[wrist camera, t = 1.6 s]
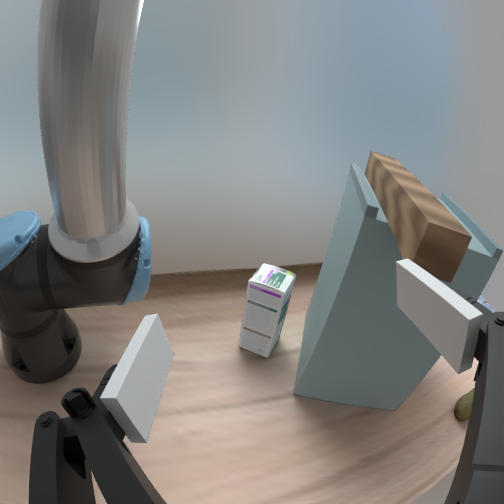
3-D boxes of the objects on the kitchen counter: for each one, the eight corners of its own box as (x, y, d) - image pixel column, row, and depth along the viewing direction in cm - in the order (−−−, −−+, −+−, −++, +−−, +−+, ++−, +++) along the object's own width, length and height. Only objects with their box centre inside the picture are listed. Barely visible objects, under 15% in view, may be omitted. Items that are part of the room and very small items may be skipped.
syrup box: (268, 359, 48) (287, 293, 41) (236, 346, 50) (248, 279, 43) (279, 338, 53) (298, 273, 46) (249, 326, 55) (262, 261, 47)
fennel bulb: (460, 428, 36) (502, 388, 30) (446, 411, 40) (485, 370, 33) (473, 413, 38) (511, 373, 32) (459, 398, 42) (495, 356, 36)
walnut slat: (450, 282, 19) (472, 237, 17) (408, 271, 20) (428, 221, 18) (387, 181, 44) (393, 158, 42) (364, 174, 44) (370, 151, 42)
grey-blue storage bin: (293, 394, 43) (367, 204, 27) (306, 314, 60) (351, 163, 44) (394, 410, 40) (503, 250, 25) (385, 332, 58) (448, 194, 42)
